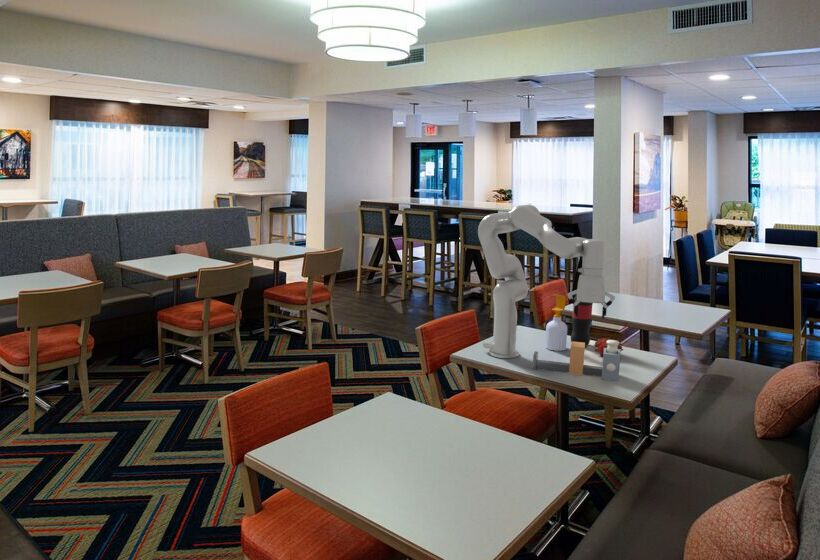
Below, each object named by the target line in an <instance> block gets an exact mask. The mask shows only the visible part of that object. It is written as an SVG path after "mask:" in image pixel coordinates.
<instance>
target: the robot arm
mask: <svg viewBox="0 0 820 560" xmlns="http://www.w3.org/2000/svg"><path fill="white" fill-rule="evenodd" d="M552 225H553V224H552V221H551V220H549V219H548V218H547V217H544V216H543V215H541V213H540V210H539V209H538V208H537V207H536V206H534V205H531V204H523V205H522V204H521V205H516V206H515V207H514V208H512V209H511V211H506V212H497V213H495V212H494V213H490V214H488V215H485V216H484V218H482V220H481V221H480V222H479V225H478V228H477V235H478V239H479V242H480V245H481V247H482V248H481V249H482V250H483V254H484V258H485V261H486V264H487V267H488V270H489V273H490V274H489V275H491V277H492V278H493V279H496V280H501V279H504V281H501V282H499V283H498V284H496V285H495V286H494V289H493V291H492V299H493V308H494V309H493V311H494V313H493V314H494V315H493V337H492V339H493V340H492V342H485V341H483V343H482V348H483V347H484V349H489V350H488V353H489V355H490V356H492V357H495V358H498V359H499V358H500V359H515V358H517V357H519V356H520V352H519V350H518V349H516V348H517V347H516V344H517V326H518V323H517V322H518V309H517V306H516V302H519V301H521V300H523V299H525V298H526V297H527V295H528V294H529V287H528V286H529V285H528V283H527V279H526V276H525V272H524V269H523V266H522V263H521V261H520V260H519V258H518V257H517V256H515V254H508V253H506V251H505V248H504V244H503V242H502V241H501V239H500V238H499V236H498V235H499V234H506V233H511V232H515V231H518V230H522V231H524V232H525V233H528V234H529V235H531V236H533V237H534V238H536V239H537V240H538V241H539V243H541V244H542V246H543V247H544V248H546V249H547V251H550V252H552V253H553V254H555V255H557V256H558V257H560V258H562V259H566V260H569V259H573V258H578V257H579V258H580V257H582V265H581V266H582V267H581V268H577V273H580V274H579V277H578V281H577V289H575V290H573V291H570V292H568V293H567V297H568V299H569V301H570V303H571V304H572V306H573V305H574V314H576V316H578V303H579V302H586V303H593V304H601V305H602V311H601V312H602V314H601V318H602V319H605V317H607V310H608V309H607V308H609V307H610V306H611V305H612V304H613V302H614V301H615V299H616V296H615V295H614V294H611V293H610V292H608V291H606V277H605V276H604V257H605V241H604V240H603V239H598V238H585V237H580V236H575V237H569V238H567V237H565V236H563V235H562V234H560V233H559V232H557V231H556V230H554V229H553V227H552ZM576 294H577V300H576V301H575V300H574V298H573V296H575V295H576ZM606 297H608V298H609V300H608V301H607V302H606Z"/></svg>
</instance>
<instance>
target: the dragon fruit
mask: <svg viewBox="0 0 820 560" xmlns="http://www.w3.org/2000/svg"><path fill="white" fill-rule="evenodd" d="M607 340H614V339H613V338H612V339H610V338H609V337H607V338H606V337H605V338H604V337H601V338H598V339H597V340H596V341H594V344H593V347H594V348H595V349H594V352H595V353H600V356H603V353H604V348H607V346H608V344H606V341H607ZM617 349H620V353H621V352H622V351H624V349H623V347H622V345H621V344H619V345H618V347H617Z"/></svg>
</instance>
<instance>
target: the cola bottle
mask: <svg viewBox="0 0 820 560" xmlns="http://www.w3.org/2000/svg"><path fill="white" fill-rule="evenodd" d="M573 299H574V300H575V301H576V300H577V294H575V295H574V298H573ZM593 304H594V303H586V302H579V303H578V316H576V314H574V305H573V304H572V316H571V320H572V333H570V334H571V335H570V342H571V343H572V341H573V342H583V343H585V347H587V346H589V344H590V342H591V335H590V327H591V323H592V320H593V319H592V317H593V315H592V313H593Z"/></svg>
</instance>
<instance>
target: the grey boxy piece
mask: <svg viewBox="0 0 820 560" xmlns="http://www.w3.org/2000/svg"><path fill="white" fill-rule="evenodd" d="M602 356H603V357H602V366H601V367H602V377H601V380H606V381H607V380H608V381H615V382H619V377H620V366H621V365H620V364H621V352H620V349H617V354H615V353H607V348H604V353H603V355H602Z"/></svg>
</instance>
